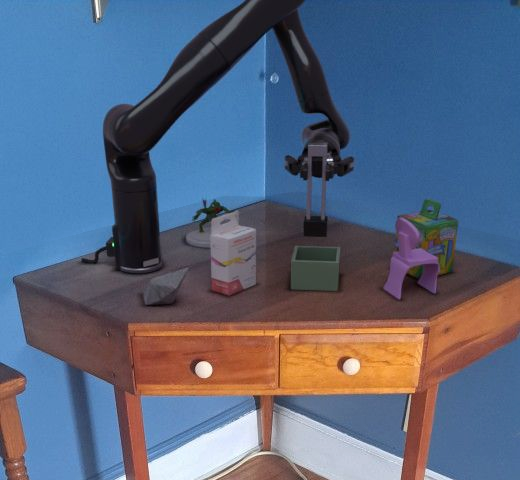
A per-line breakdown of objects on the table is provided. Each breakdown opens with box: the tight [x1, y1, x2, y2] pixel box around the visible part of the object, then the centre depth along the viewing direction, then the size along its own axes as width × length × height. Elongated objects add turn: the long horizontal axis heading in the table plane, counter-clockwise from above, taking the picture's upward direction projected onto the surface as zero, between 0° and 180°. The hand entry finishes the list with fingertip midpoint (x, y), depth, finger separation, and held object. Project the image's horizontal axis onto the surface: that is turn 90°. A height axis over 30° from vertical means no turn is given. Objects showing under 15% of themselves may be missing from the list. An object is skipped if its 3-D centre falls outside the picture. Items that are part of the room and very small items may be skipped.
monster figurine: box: [185, 197, 236, 249], centre depth 188 cm, size 12×12×10 cm
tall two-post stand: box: [302, 143, 329, 238], centre depth 152 cm, size 4×4×17 cm
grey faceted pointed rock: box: [142, 267, 190, 306], centre depth 156 cm, size 12×6×9 cm
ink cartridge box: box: [210, 210, 257, 297], centre depth 160 cm, size 9×5×15 cm, turn 141°
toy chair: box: [382, 217, 439, 300], centre depth 157 cm, size 8×9×15 cm
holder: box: [290, 245, 342, 292], centre depth 164 cm, size 9×9×6 cm
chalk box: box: [393, 198, 459, 281], centre depth 168 cm, size 9×9×15 cm
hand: (316, 175), depth 148 cm, fingers closed on tall two-post stand, 3 cm apart
